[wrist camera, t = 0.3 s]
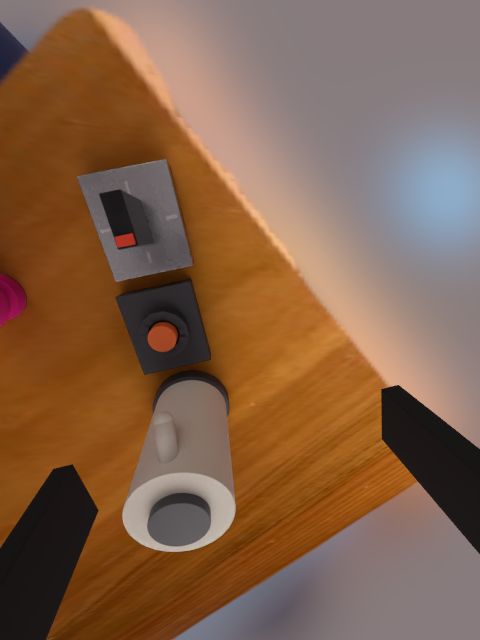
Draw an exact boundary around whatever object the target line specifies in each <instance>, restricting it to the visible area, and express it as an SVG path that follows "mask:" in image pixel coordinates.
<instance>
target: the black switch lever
mask: <svg viewBox="0 0 480 640" xmlns="http://www.w3.org/2000/svg"><path fill="white" fill-rule="evenodd" d="M99 196H100V199H101V202H102V205H103V208H104V211H105V214H106V216H107V219H108V222H109V225H110V228H111V231H112V234H113V237H114V240H115V242H116V245H117V248H118V250H122V249H129V248H135V247H141V246H146V245H151V244H153V240H152V236H151V233H150V230H149V226H148V223H147V220H146V216H145V213H144V210H143V206H142V203H141V200H140V199H138V198H136V197H134V196H132V195H130V194H128V193H126V192H124V191H122V190H121V189H119V190H114V191H108V192H103V193H99Z"/></svg>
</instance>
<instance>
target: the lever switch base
mask: <svg viewBox="0 0 480 640" xmlns="http://www.w3.org/2000/svg"><path fill="white" fill-rule="evenodd" d="M77 178H78V181H79V183H80V186H81V189H82V192H83V194H84V197H85V200H86V202H87V205H88V208H89V211H90V213H91V216H92V219H93V222H94V224H95V227H96V230H97V233H98V235H99V238H100V241H101V244H102V246H103V249H104V252H105V255H106V257H107V260H108V263H109V266H110V268H111V271H112V274H113V276H114V279H115V282H118V281H122V280H127V279H132V278H136V277H141V276H146V275H151V274H155V273H160V272H165V271H169V270H174V269H179V268H183V267H188V266H193V265H194V259H193V255H192V251H191V247H190V243H189V239H188V235H187V231H186V227H185V223H184V219H183V215H182V211H181V207H180V203H179V199H178V195H177V191H176V187H175V183H174V179H173V175H172V171H171V167H170V165H169V163H168V162H167V160H166V159H164V160H158V161H153V162H148V163H143V164H138V165H133V166H127V167H122V168H117V169H112V170H107V171H101V172H96V173H91V174H86V175H81V176H77ZM119 189H121V190H122V191H124V192H126V193H128V194H130V195H132V196H134V197H136V198H138V199H140V200H141V203H142V206H143V210H144V213H145V216H146V220H147V223H148V226H149V230H150V233H151V236H152V240H153V244H151V245H146V246H141V247H135V248H129V249H122V250H118V248H117V245H116V242H115V240H114V237H113V234H112V231H111V228H110V225H109V222H108V219H107V216H106V214H105V211H104V208H103V205H102V202H101V199H100V196H99V193H103V192H108V191H114V190H119Z"/></svg>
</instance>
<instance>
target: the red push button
mask: <svg viewBox="0 0 480 640" xmlns="http://www.w3.org/2000/svg"><path fill="white" fill-rule="evenodd" d="M177 338H178V332H177V329H176V328H175V327H174V326H173V325H172V324H171V323H168V322H159V323H157V324H155V325H154V326H153V327H152V329H151V330H150V332H149V334H148V343H149V345H150V346H151V347H152V348H153V349H154V350H156V351H159V352H166V351H169V350H171V349H172V348H173V347H174V346H175V344H176V341H177Z"/></svg>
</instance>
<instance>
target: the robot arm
mask: <svg viewBox="0 0 480 640" xmlns="http://www.w3.org/2000/svg"><path fill="white" fill-rule="evenodd" d="M381 393H382V440H383V441H384V442H385V443H386V444H387V445H388V447H389V448H390V449H391V450H392V451H393V452H394V454H395V455H396V456H397V457H398V458H399V460H400V461H401V462H402V463H403V464H404V465H405V467H406V468H407V469H408V470H409V471H410V473H411V474H412V475H413V476H414V477H415V478H416V480H417V481H418V482H419V483H420V484H421V485H422V487H423V488H424V489H425V490H426V491H427V493H428V494H429V495H430V496H431V497H432V498H433V500H434V501H435V502H436V503H437V504H438V506H439V507H440V508H441V509H442V510H443V511H444V512H445V514H446V515H447V516H448V517H449V518H450V519H451V521H452V522H453V523H454V524H455V526H456V527H457V528H458V529H459V530H460V531H461V533H462V534H463V535H464V536H465V537H466V539H467V540H468V541H469V542H470V543H471V544H472V546H473V547H474V548H475V549H476V550H477V551H478V553H479V554H480V449H479V448H477V447H476V446H475V445H474V444H472V443H471V442H470V441H469V440H467V439H466V438H465V437H463V436H462V435H461V434H460V433H459V432H457V431H456V430H455V429H453V428H452V427H451V426H450V425H448V424H447V423H446V422H445V421H443V420H442V419H441V418H440V417H438V416H437V415H436V414H435V413H433V412H432V411H431V410H429V409H428V408H427V407H425V406H424V405H423V404H422V403H420V402H419V401H418V400H417V399H415V398H414V397H413V396H412V395H410V394H409V393H408V392H407V391H405V390H404V389H403V388H402V387H400V386H399V385H397V386H392V387H388V388H384V389H381ZM97 513H98V509H97V507H96V505H95V503H94V502H93V500H92V498H91V496H90V495H89V493H88V491H87V489H86V487H85V486H84V484H83V482H82V480H81V479H80V477H79V475H78V473H77V471H76V470H75V468H74V466H73V464H72V465H68V466H64V467H60V468H56V469H53V471H52V472H51V474H50V475H49V476H48V478H47V479H46V481H45V482H44V484H43V485H42V487H41V488H40V490H39V491H38V493H37V494H36V496H35V497H34V499H33V500H32V502H31V503H30V505H29V506H28V508H27V509H26V511H25V512H24V514H23V515H22V517H21V518H20V520H19V521H18V523H17V524H16V526H15V527H14V529H13V530H12V532H11V533H10V535H9V536H8V538H7V539H6V541H5V542H4V544H3V545H2V546H1V548H0V640H46V638H47V636H48V633H49V631H50V628H51V626H52V624H53V621H54V619H55V616H56V614H57V611H58V609H59V606H60V604H61V601H62V599H63V596H64V594H65V592H66V589H67V587H68V584H69V582H70V579H71V577H72V574H73V572H74V569H75V567H76V564H77V562H78V560H79V557H80V555H81V552H82V550H83V547H84V545H85V542H86V540H87V537H88V535H89V532H90V530H91V528H92V525H93V523H94V520H95V518H96V515H97Z"/></svg>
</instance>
